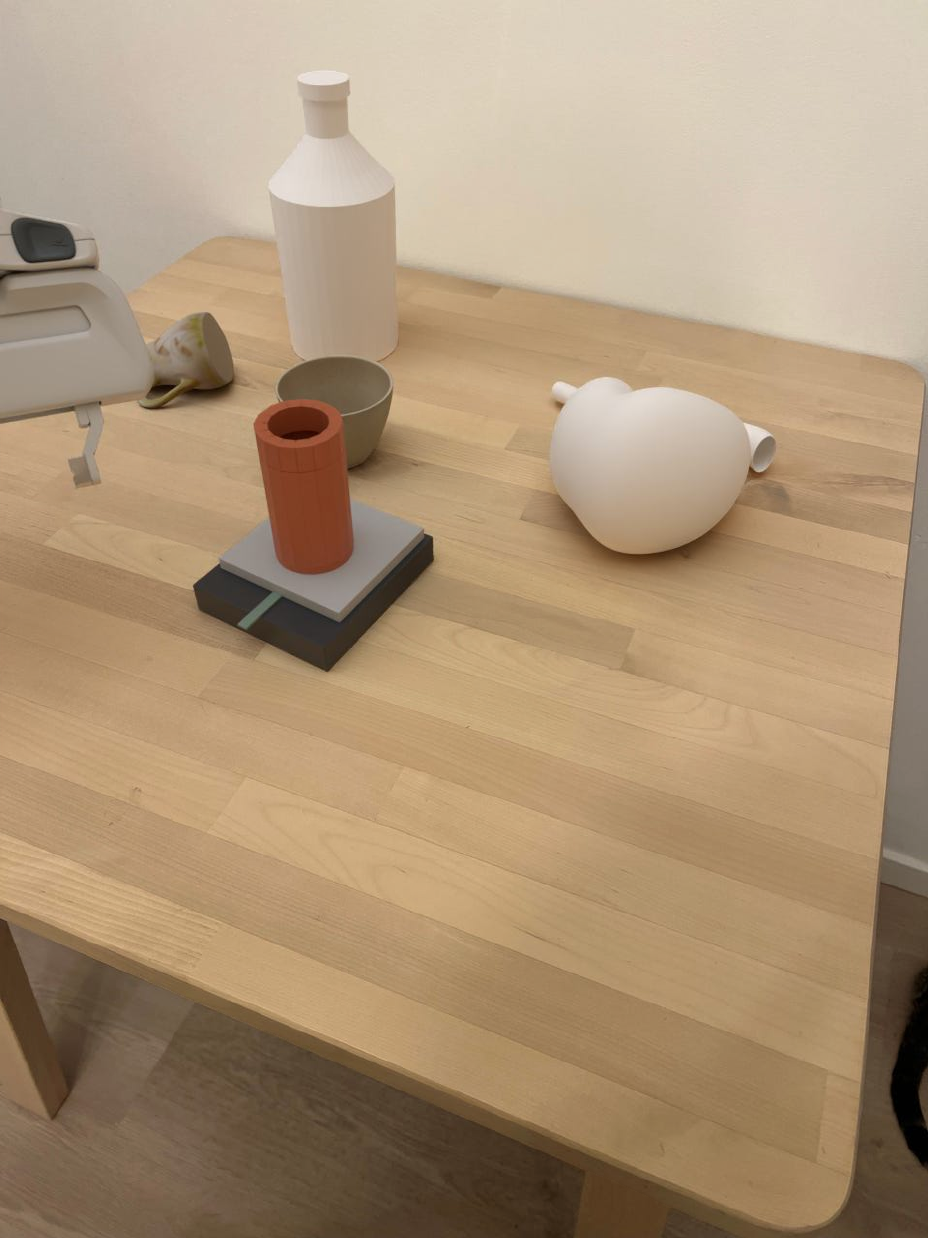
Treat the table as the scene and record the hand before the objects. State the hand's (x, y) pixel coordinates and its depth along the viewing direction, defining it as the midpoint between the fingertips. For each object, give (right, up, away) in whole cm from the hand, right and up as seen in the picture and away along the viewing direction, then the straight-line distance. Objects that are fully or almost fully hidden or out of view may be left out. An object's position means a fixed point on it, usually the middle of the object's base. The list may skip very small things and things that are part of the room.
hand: (5, 503), depth 55 cm
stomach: (+41, +5, +27) cm, 49 cm away
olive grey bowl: (+16, +8, +30) cm, 35 cm away
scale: (+16, -4, +17) cm, 24 cm away
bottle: (+14, +23, +44) cm, 52 cm away
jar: (+16, -2, +15) cm, 22 cm away
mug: (-1, +16, +37) cm, 41 cm away
